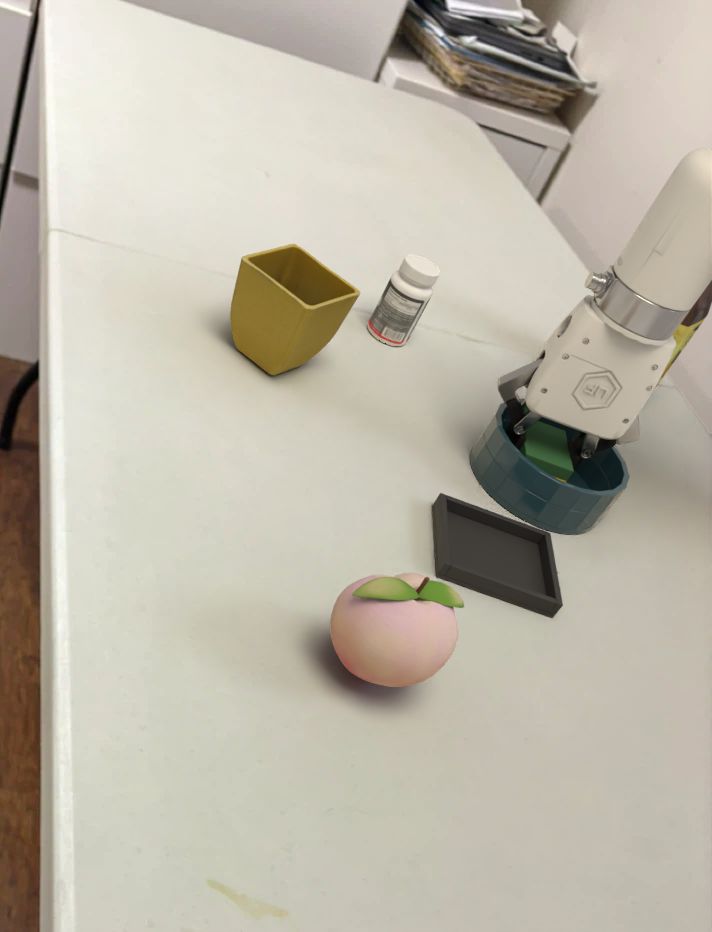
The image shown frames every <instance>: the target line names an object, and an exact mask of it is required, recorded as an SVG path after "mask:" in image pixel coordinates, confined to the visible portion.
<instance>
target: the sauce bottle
mask: <svg viewBox="0 0 712 932" xmlns="http://www.w3.org/2000/svg"><path fill="white" fill-rule="evenodd" d="M711 307H712V280H711V282H710V283H709V285H708V286H707V287H706V289H705V290H704V292H703V293H702V294H701V296H700V297H699V298H698V300H697V301H696V303H695V304H694V305H693V307H692V308H691V310H690V311H689V313H688V314H687V315H686V317H685V318H684V319H683V321H682V322H681V324H680V325H679V326H678V328H677V329H676V331H675V332H674V333H673V337H674V339H675V341H676V347H675V349H674V351H673V354H672V356H671V358H670V360H669V362H668V364H667V366H666V368H665V370H664V372H663V374H662V376H661V377H660V379H659V381H658V383H657V385H656V387H655V388H654V390H653V392H654V391H655V389H656V388H657V387H658V385H659V384H660V382H661V381H662V379H664V377H665V375H666V374H667V372H668V371H669V370H670V369H671V367H672V365H673V364H674V363H675V362H676V360H677V359H678V358H679V356H680V354H681V353H682V352H683V350H684V349H685V348H686V346H687V345H688V344H689V342H690V341H691V339H692V338H693V336H694V335H695V334H696V332H697V331H698V329H699V328H700V326H702V323H703V322H704V321H705V319H707V317H708V316H709V313H710V310H711Z"/></svg>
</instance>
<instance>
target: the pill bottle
mask: <svg viewBox="0 0 712 932" xmlns="http://www.w3.org/2000/svg"><path fill="white" fill-rule="evenodd" d="M440 274H441V271H440V268H439V267H438V266H437V265H436V263H434V262H433V261H431V260H430V259H428V258H427V257H424V256H422V255H419V254H415V253H408V254H406V255H405V256H404V259H403V260H402V262H401V264H400V266H399V269H398V270H396V271H394V272H393V273H392V275H391V276H390V278H389V280H388V282H387V284H386V286H385V288H384V290H383V292H382V293H381V296H380V298H379V300H378V302H377V304H376V306H375V308H374V310H373V312H372V314H371V316H370V318H369V320H368V322H367V329H368V331H369V333H370V334H371V335H372V336H373V337H374V338H375V339H376V340H377V341H379V340H380V341H379V342H380V343H383V344H385V343H386V344H385V345H387V346H390V347H391V346H392V347H402V346H404V345H406V344H407V343H408V341H409V339H410V338H411V335H412V334H413V332H414V330H415V328H416V326H417V325H418V322H419V320H420V319H421V317H422V315H423V313H424V311H425V310H426V308H427V306H428V304H429V302H430V300H431V297H433V292H434V289H433V286H434V285H435V284H436V283H437V281H438V278H439V276H440Z"/></svg>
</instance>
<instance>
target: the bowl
mask: <svg viewBox="0 0 712 932" xmlns="http://www.w3.org/2000/svg"><path fill="white" fill-rule="evenodd" d="M519 399H520V402H522V401H524V400H525V397H524V398H523V397H521V398H519ZM538 421H540V422H542V423H545V424H548V425H551V426H553V427H556V428H559V429H561V430H564V431H565V432H566V437H567V442H568V441H570V440H571V438H572V439H575V438H577V436H578V433H579V430H576V429H573V428H571V427H568V426H565V425H563V424H560V423H557V422H555V421H552V420H549V419H547V418H544V417H541V418H540V419H539V420H538ZM510 423H511V420H510V417H509V414H508V411H507V407H506V405H505V403H504V402H501V403H500V404H499V406H498V407H497V409H496V410H495V412H494V413H493V415H492V417H491V418H490V420H489V421H488V423H487V424H486V426H485V428H484V429H483V431H482V432H481V434H480V435H479V437H478V438H477V440H476V442H475V444H474V445H473V447H472V449H471V451H470V455H469V463H470V467H471V470H472V472H473V474H474V477H475V478H476V480H477V481H478V483H479V485H480V486H481V487H482V488H483V489H484V491H485V492H486V493H487V494H488V495H489V496H490V497H491V498H492V499H493V500H494V501H495V502H497V503H498V504H499V506H501V507H503V508H504V509H505V510H507V511H508V512H510V513H511V514H513V515H514V516H515V517H516V518H519V519H521V520H522V521H524V522H526V523H528V524H530V525H531V526H534V527H536V528H538V529H541V530H544V531H547V532H550V533H551V532H553V533H556V534H560V535H574V536H575V535H581V534H584V533H587V532H589V531H591V530H593V529H594V528H595V527H596V526H597V524H599V523H600V522H601V520H602V519H603V518H604V517H605V515H607V513H608V512H609V511H610V509H611V508H612V507H613V505H614V504H615V503H616V502H617V501H618V500H619V498H620V497H621V495H622V494H623V493H624V491H625V490H626V489H627V488H628V484H629V481H630V473H629V469H628V465H627V462H626V461H625V459H624V457H623V456H622V454H621V453H620V452H619V449H617V447H616V446H614V447H612V448H609V449H606V450H603V451H600V452H597V453H594V454H593V456H592V457H591V458H589V459H583V461H582V462H581V463H580V465H579V466H578V468H577V469H576V470H575V472H574V473H573V475H572V476H571V477H570V479H568V480H567V481H566V482H563V481H561V480H559V479H557V478H555V477H553V476H552V475H550V474H548V473H546V472H545V471H543V470H541V469H540V468H539V467H537V466H536V465H535V464H533V463H532V462H531V461H530V460H528V459H527V458H526V457H524V456H523V455H522V453H521V452H520V451H519V450H518V449H517V448H516V447H515V446H514V445H513V444H512V443H511V441H510V440H509V438H508V436H507V434H506V433H505V431H506V429H507V428H508V426H509V425H510Z"/></svg>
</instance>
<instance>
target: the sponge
mask: <svg viewBox="0 0 712 932" xmlns="http://www.w3.org/2000/svg"><path fill="white" fill-rule="evenodd" d="M519 451H520V452H521V453H522V455H523V456H524V457H526V458H527V459H528V460H530V461H531V462H532V463H533V464H535V465H536V466H537V467H539V468H540V469H541V470H543V471H545V472H546V473H548V474H550V475H552V476H553V477H555V478H557V479H559V480H561V481H563V482H566V481H567V480H568V479H569V478H570V476H571V475H572V473H573V472H574V470H573V465H572V461H571V458H570V453H569V448H568V443H567V437H566V432H565V431H564V430H561V429H559V428H556V427H553V426H551V425H548V424H545V423H542V422H540V421H537V422H536V423H535V424H534V425H533V426H531V427H530V428H529V429H528V430H527V432H526V442H524V443H523V445H522V446H521V448H520V449H519Z"/></svg>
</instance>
